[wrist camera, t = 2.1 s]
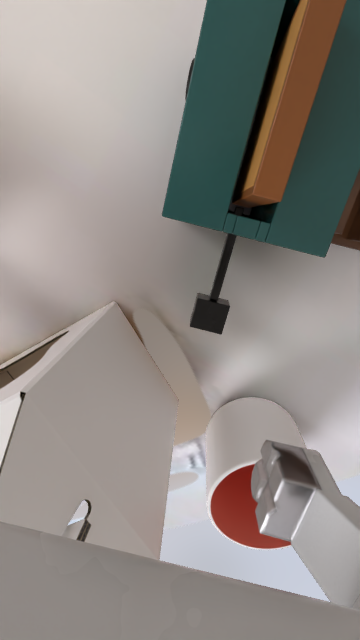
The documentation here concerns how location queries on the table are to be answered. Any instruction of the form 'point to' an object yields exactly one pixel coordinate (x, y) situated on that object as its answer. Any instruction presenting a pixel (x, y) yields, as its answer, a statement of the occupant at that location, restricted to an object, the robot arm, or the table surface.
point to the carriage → (220, 269)
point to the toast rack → (350, 220)
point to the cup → (242, 465)
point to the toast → (287, 102)
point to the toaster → (236, 120)
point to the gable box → (88, 436)
